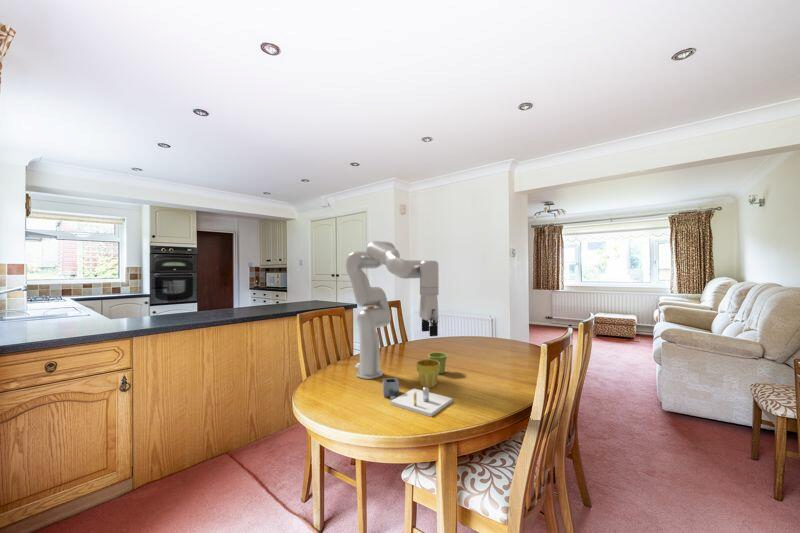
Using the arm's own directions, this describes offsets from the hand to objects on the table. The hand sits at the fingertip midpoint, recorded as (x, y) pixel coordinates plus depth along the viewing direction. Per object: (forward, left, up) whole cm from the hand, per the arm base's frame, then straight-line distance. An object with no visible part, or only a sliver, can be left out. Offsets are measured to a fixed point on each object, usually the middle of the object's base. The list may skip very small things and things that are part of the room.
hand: (429, 333), depth 134 cm
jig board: (+1, -8, -25) cm, 26 cm away
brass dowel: (+2, -14, -24) cm, 28 cm away
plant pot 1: (-12, +27, -25) cm, 39 cm away
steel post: (+3, -8, -24) cm, 25 cm away
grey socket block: (-12, -9, -25) cm, 29 cm away
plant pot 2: (-7, +10, -25) cm, 28 cm away
